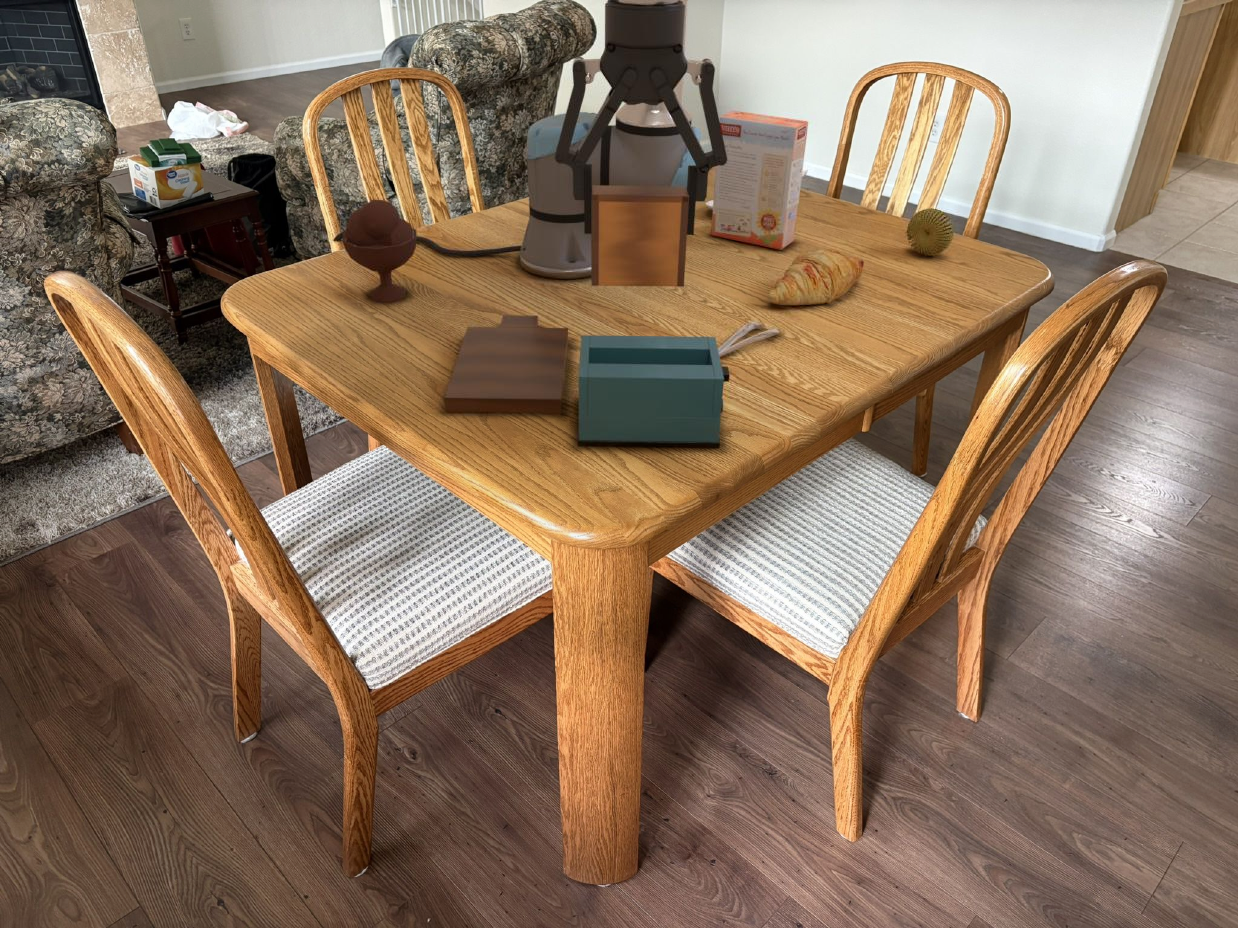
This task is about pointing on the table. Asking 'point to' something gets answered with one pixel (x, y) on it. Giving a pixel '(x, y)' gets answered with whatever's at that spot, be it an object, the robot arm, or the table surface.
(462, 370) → the bread board
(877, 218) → the table surface
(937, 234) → the sea urchin shell
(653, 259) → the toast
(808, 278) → the croissant
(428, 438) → the table surface
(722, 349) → the tweezers
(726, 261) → the table surface
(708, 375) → the toaster
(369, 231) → the ice cream bowl
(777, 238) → the cracker box
